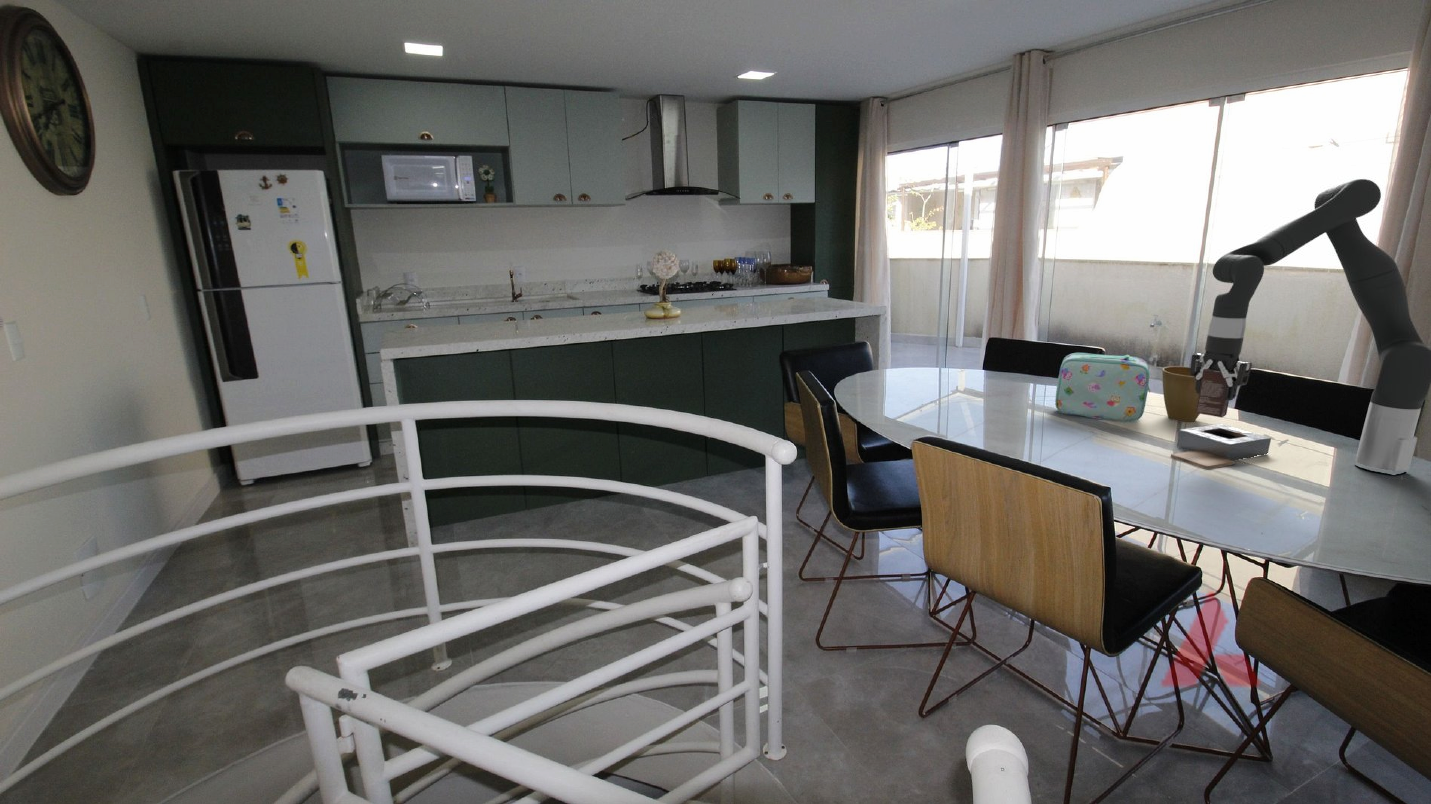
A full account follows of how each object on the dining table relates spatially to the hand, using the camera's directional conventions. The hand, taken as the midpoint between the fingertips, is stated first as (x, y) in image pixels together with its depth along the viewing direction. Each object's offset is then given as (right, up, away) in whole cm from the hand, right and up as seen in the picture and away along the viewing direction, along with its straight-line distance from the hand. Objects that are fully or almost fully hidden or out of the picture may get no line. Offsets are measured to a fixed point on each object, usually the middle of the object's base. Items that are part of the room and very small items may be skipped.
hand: (1214, 396), depth 176 cm
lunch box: (-4, -6, +46) cm, 47 cm away
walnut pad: (0, -17, +5) cm, 18 cm away
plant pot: (+21, -7, +42) cm, 47 cm away
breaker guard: (+11, -15, +12) cm, 22 cm away
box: (0, -5, +1) cm, 5 cm away
